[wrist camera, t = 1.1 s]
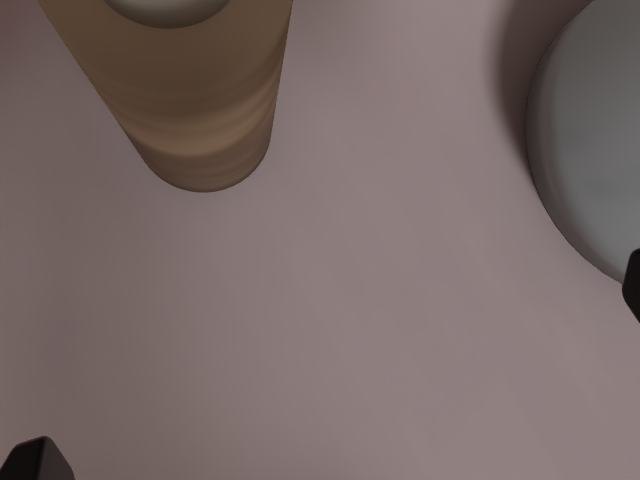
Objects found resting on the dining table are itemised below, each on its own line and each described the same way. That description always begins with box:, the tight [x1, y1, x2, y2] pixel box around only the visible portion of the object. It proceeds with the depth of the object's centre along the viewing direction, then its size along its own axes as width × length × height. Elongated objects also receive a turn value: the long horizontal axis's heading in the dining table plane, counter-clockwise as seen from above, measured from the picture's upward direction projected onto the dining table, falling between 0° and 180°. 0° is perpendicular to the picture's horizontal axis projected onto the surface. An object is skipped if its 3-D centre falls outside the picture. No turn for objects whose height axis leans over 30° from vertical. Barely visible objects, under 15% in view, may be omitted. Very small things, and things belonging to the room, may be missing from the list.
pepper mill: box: [38, 0, 293, 192], centre depth 16 cm, size 5×5×12 cm
